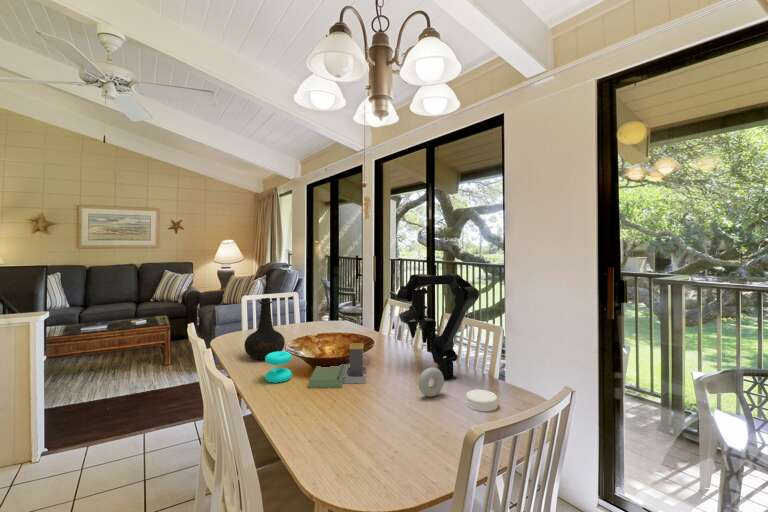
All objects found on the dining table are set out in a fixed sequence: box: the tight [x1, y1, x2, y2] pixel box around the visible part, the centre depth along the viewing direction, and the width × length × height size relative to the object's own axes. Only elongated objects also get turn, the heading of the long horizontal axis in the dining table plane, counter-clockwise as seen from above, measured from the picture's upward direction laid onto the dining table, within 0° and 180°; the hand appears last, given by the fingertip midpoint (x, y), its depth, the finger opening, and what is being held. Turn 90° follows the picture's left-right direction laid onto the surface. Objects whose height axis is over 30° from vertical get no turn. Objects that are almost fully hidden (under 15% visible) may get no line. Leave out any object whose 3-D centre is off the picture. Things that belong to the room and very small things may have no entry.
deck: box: [308, 363, 368, 389], centre depth 143 cm, size 20×20×4 cm
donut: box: [418, 366, 445, 398], centre depth 125 cm, size 10×4×10 cm, turn 118°
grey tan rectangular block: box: [348, 342, 364, 376], centre depth 143 cm, size 5×5×13 cm
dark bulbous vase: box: [244, 297, 286, 360], centre depth 170 cm, size 18×18×28 cm
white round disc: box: [465, 389, 499, 413], centre depth 118 cm, size 10×10×4 cm
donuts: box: [264, 350, 293, 384], centre depth 142 cm, size 10×10×10 cm
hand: (418, 340), depth 154 cm, fingers open, 9 cm apart
